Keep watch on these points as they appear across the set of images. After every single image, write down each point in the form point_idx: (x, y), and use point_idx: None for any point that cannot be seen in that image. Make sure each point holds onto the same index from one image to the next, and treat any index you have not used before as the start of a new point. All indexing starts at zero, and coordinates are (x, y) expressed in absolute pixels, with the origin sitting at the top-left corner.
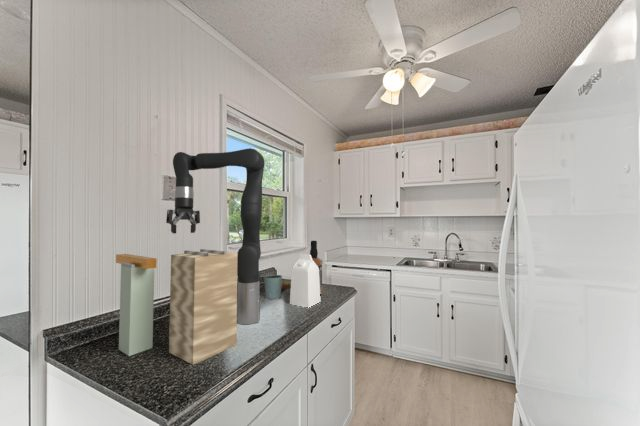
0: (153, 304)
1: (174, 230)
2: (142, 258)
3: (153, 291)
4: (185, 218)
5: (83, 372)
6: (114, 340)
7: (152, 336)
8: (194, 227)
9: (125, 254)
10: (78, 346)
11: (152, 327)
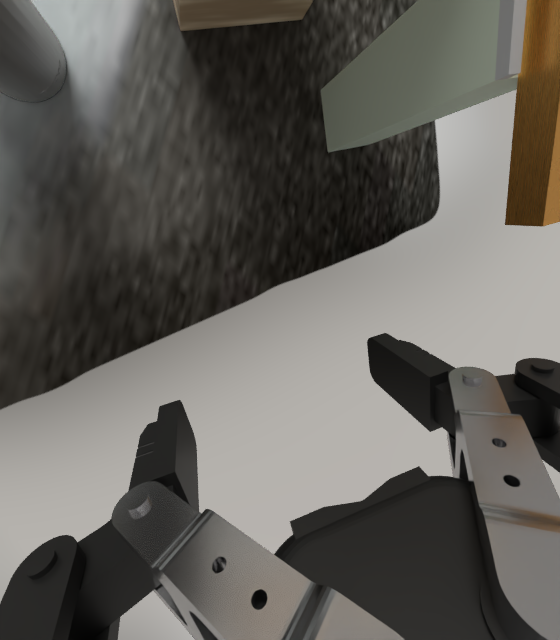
0: (378, 37)
1: (400, 346)
2: None
3: (408, 10)
4: (364, 512)
5: None
6: (361, 212)
7: (332, 79)
8: (158, 444)
9: (558, 186)
10: (408, 228)
11: (343, 70)
